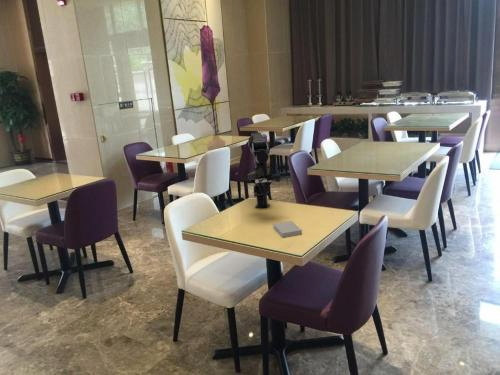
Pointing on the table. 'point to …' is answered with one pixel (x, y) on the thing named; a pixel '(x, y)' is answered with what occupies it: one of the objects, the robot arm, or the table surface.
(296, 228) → the tile
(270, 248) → the table surface
